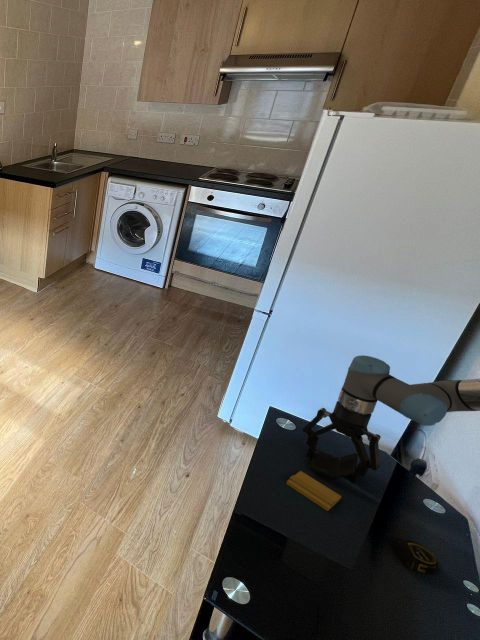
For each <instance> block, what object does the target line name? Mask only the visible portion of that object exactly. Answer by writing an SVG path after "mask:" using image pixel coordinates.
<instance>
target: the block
mask: <svg viewBox="0 0 480 640" xmlns="http://www.w3.org/2000/svg"><path fill="white" fill-rule="evenodd" d="M285 485H287V486H288V487H290V488H291V489H293V490H295V491H296V492H297V493H299V494H300V495H302V496H303V497H305V498H307V499H308V500H309V501H311V502H312V503H314V504H315V505H317V506H319V507H320V508H322V509H323V510H325V511H326V512H329V511H330V510H331V509H332V508H333V507H334V506H336V504H337V503H339V501H341V499H342V497H343V496H342V495H341V494H339V493H337V492H336V491H334V490H332V489H331V488H329V487H328V486H326V485H324V484H323V483H321V482H319V481H317V480H316V479H314V478H313V477H311V476H310V475H308V474H306V473H305V472H304V471H302V470H299V471H298V472H296V474H292V475H291V476H290V477H289V479H288V480H287V481H286V483H285Z"/></svg>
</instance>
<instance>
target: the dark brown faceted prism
mask: <svg viewBox="0 0 480 640" xmlns="http://www.w3.org/2000/svg"><path fill="white" fill-rule="evenodd" d="M358 458H359V456H358V453H357V452H355V453H351V454H346V455H344V456H340V457H335V456H332V455H330V454H329V453H326V452H324V451H321V450H319V449H317V448H315V450H314V453H313V455H312V456H311V461H310V465H309V470H310V471H313V472H314V473H317V474H319V475H322V476H323V477H325V478H327V479H330V480H331V481H334V482H335V481H336V479H340V478H343V477H348V476H353V475H354V474H355V472H356V467H357V465H358Z"/></svg>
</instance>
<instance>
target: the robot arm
mask: <svg viewBox="0 0 480 640" xmlns="http://www.w3.org/2000/svg"><path fill="white" fill-rule="evenodd" d="M378 402H379V403H381V404H384V405H385V406H386V407H389V408H390V409H391V410H394V411H395V412H397V413H399V414H400V415H402V416H403V417H406V419H409V420H411V421H414V422H415V423H417V424H419V425H422V426H424V427H425V426H426V427H432V426H435V425H436V424H438V423H440V422H441V421H442V420H443V419H444V418H445V417H446V415H447V413H452V412H453V413H454V412H455V413H456V412H480V378H468V379H466V378H465V379H444V380H438V381H431V382H430V381H429V382H422V383H421V382H420V383H413V384H409V383H407V382H405V381H403V380H401V379H399V378H396V377H395V376H394V375H391V366H390V365H389V364H388V363H387V362H385V361H384V360H382V359H380V358H377V357H374V356H370V355H356V356H354V357H353V358H352V360H351V363H350V365H349V367H348V369H347V373H346V375H345V379H344V381H343V385H342V387H341V389H340V392H339V395H338V397H337V401H336V402H335V406H334V408H333V411H332V412H330V411H328V410H327V409H326V408H325V407H321V408H320V409H318V410H317V413H316V415H315V416H314V417H313V418H312V419H311V420H310V421H309V422H308V423H307V424H306V425H305V426H304V427H303V428H302V432H303V433H305V434H307V436H308V437H307V440H306V442H305V444H306V446H308V449H307V452H306V455H305V456H306V457H307V458H311V457H313V453H314V450H315V449H317V445H318V442H319V439H320V437H319V436H321V435H323V434H325V433H327V432H331V431H333V430H336V433H337V432H338V433H339V434H342V435H344V436H345V437H347V438H348V439H349V438H350V440H351V442H352V443H353V446H354V448H355V450H356V453H357V454H358V459H359V462H358V463H357V464H356V472H355V474H352V478H351V480H350V483H352V484H353V485H354V484H356V483H357V482H358V481H359V479H360V476H362V477H364V476H365V475H367V473H368V471H369V469H370V470H373V471H377V470H378V469H379V468H380V467H381V461H380V448H379V447H380V446H379V442H380V440H381V438H382V436H381V435H380V434H378V433H376V434H375V433H373V432H371V431H370V430H369V429H368V425H369V423H370V420H371V417H372V414H373V412H374V411H375V408H376V405H377V403H378ZM323 418H324V419H325V418H329V420H330V422H331V423H330V424H328V425H327V424H326V425H325V426H322V427H320V428H318V429H316V430H312V429H313V428H314V427H315V426H316V425H317V424H318V423H319V422H320V421H321V420H323ZM363 436H366V438H367V441H369V442H368V448H369V450H368V451H369V455H368V451H367V449H366V446H365V444H364V441H363Z"/></svg>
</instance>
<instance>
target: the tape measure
mask: <svg viewBox="0 0 480 640" xmlns="http://www.w3.org/2000/svg"><path fill="white" fill-rule="evenodd" d="M390 545H391V547H392V549H394V551H395V553H396V554H397V556H399V558H400V560H401V562H402V563H403V564H404V566H405V567H406V568H407V569H408V570H409V571H414V572H415V571H416V572H419V573H421V574H425V575H432V574H434V573H435V572H437V570H438V569H439V562H438V558H437V557H436V556H435V555H434V554H433V553H432V552H431V551H430V550H429V549H428V548H426V547H425V546H424V545H422V544H420V543H419V542H415V541H414V540H410V539H401V538H392V539H391V540H390Z"/></svg>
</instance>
